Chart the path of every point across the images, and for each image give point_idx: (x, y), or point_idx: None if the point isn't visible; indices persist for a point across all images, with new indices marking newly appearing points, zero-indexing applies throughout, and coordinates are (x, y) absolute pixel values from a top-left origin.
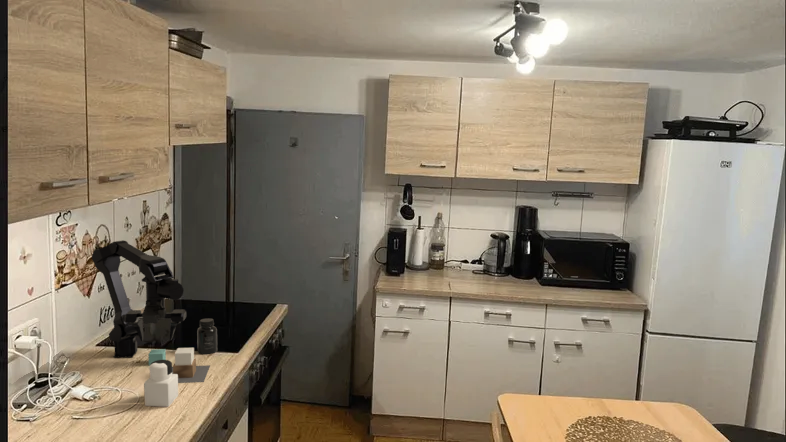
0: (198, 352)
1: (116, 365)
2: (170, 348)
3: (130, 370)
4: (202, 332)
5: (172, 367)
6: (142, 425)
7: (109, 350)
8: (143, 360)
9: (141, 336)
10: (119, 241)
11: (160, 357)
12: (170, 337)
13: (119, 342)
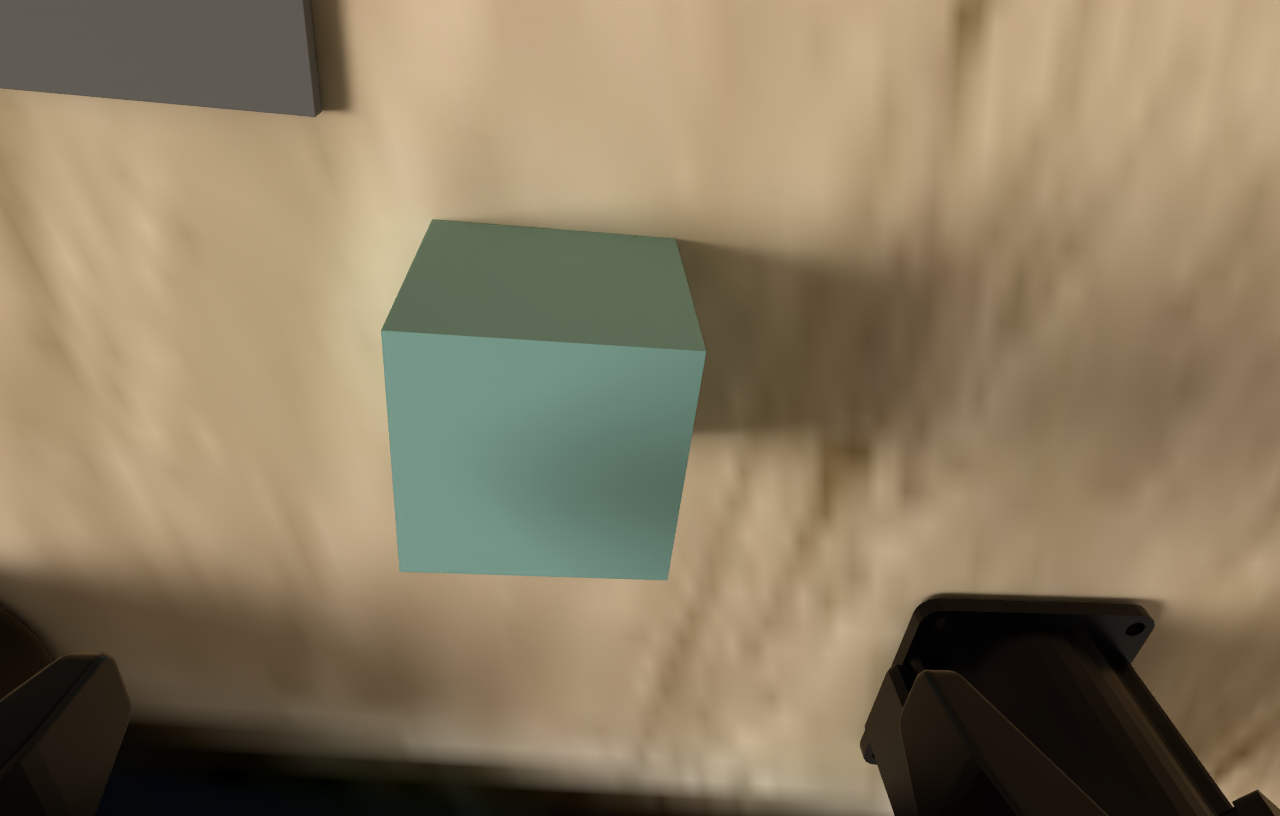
0: (8, 632)
1: (1152, 373)
2: (489, 782)
3: (977, 113)
4: None
5: (182, 51)
6: None
7: None
8: (776, 497)
9: (1013, 792)
10: None
11: (446, 296)
12: (7, 731)
13: (1194, 808)
